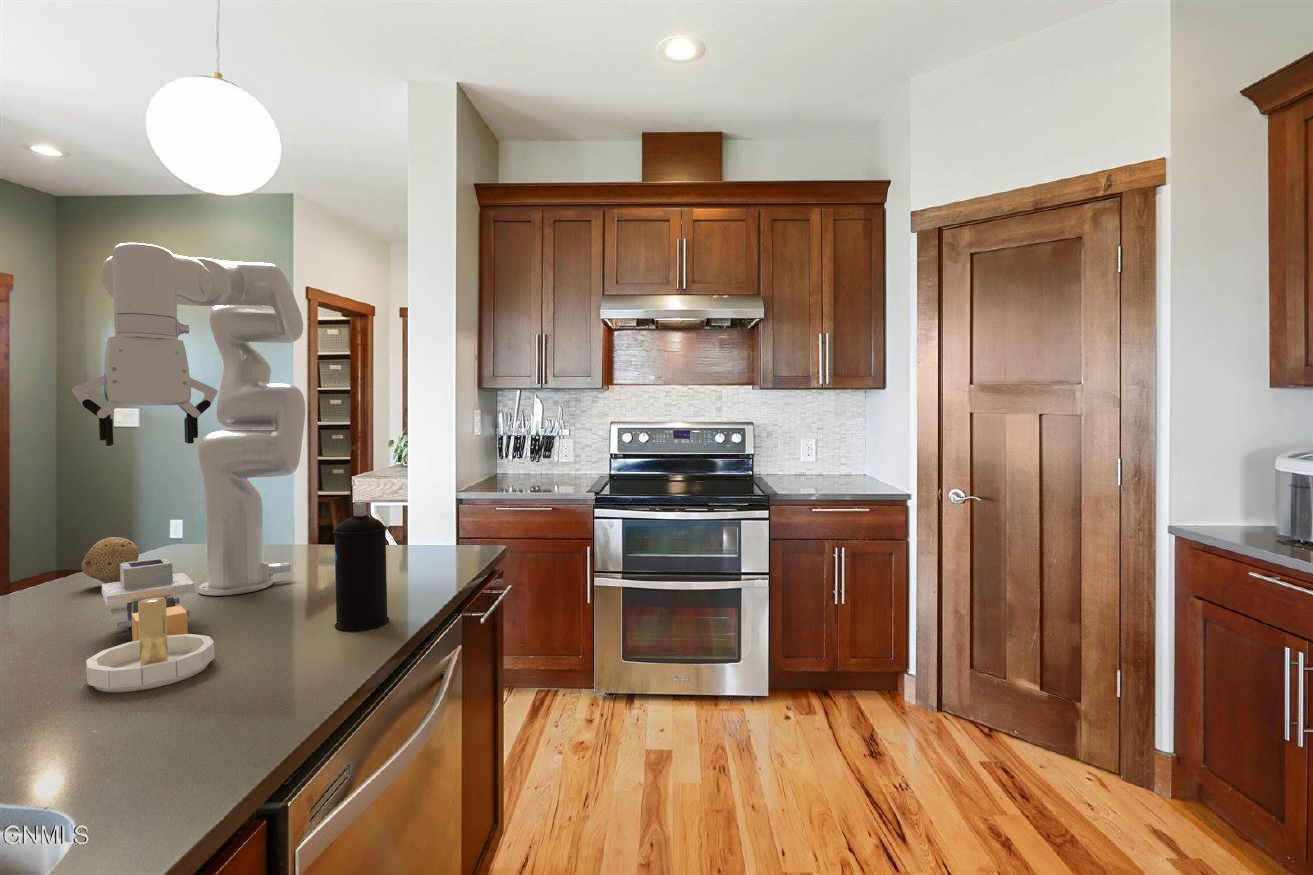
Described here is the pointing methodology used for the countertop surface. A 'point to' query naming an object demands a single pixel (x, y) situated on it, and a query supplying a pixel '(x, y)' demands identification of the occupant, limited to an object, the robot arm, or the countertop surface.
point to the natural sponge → (109, 558)
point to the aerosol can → (360, 572)
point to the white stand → (145, 586)
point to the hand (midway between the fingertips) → (150, 444)
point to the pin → (152, 631)
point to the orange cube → (174, 622)
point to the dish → (125, 674)
